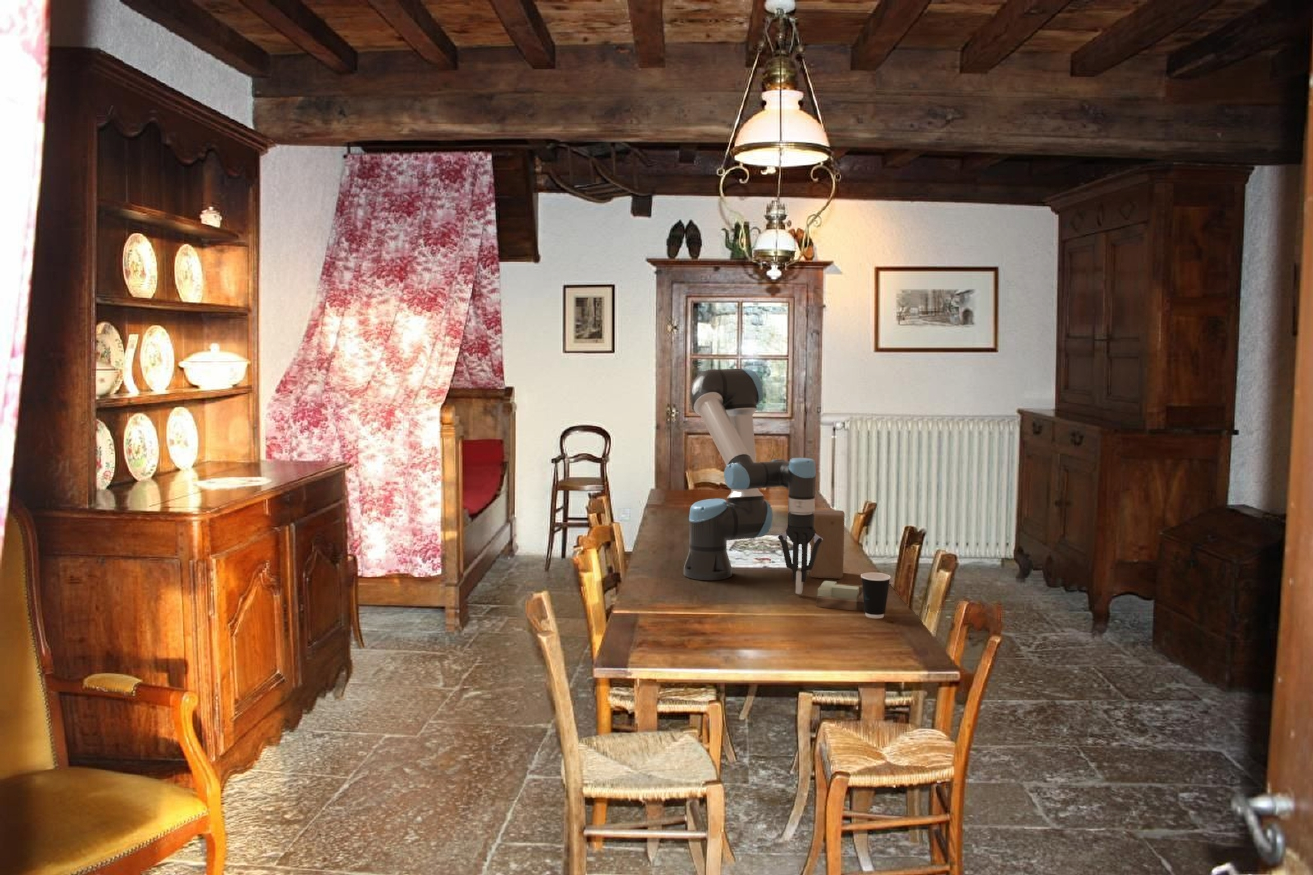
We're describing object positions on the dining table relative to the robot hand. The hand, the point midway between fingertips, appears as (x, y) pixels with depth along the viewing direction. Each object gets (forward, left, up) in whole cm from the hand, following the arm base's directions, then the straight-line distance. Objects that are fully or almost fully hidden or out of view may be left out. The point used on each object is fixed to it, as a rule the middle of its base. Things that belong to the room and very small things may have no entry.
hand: (799, 592), depth 288 cm
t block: (+12, 0, -1) cm, 12 cm away
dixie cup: (+23, -13, -1) cm, 27 cm away
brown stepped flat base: (+14, -1, -1) cm, 14 cm away
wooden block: (+3, +27, -1) cm, 28 cm away
